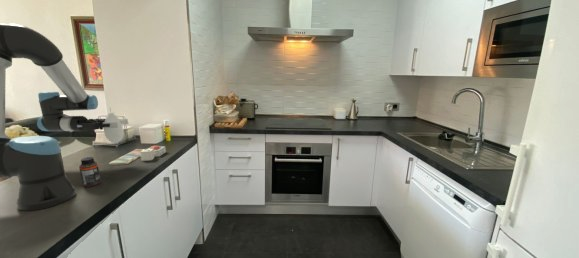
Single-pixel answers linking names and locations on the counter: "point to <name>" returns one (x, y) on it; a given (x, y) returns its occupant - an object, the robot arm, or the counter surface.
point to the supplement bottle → (89, 172)
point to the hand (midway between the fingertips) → (122, 123)
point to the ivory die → (147, 154)
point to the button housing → (159, 151)
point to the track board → (127, 157)
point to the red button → (155, 147)
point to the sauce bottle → (113, 133)
